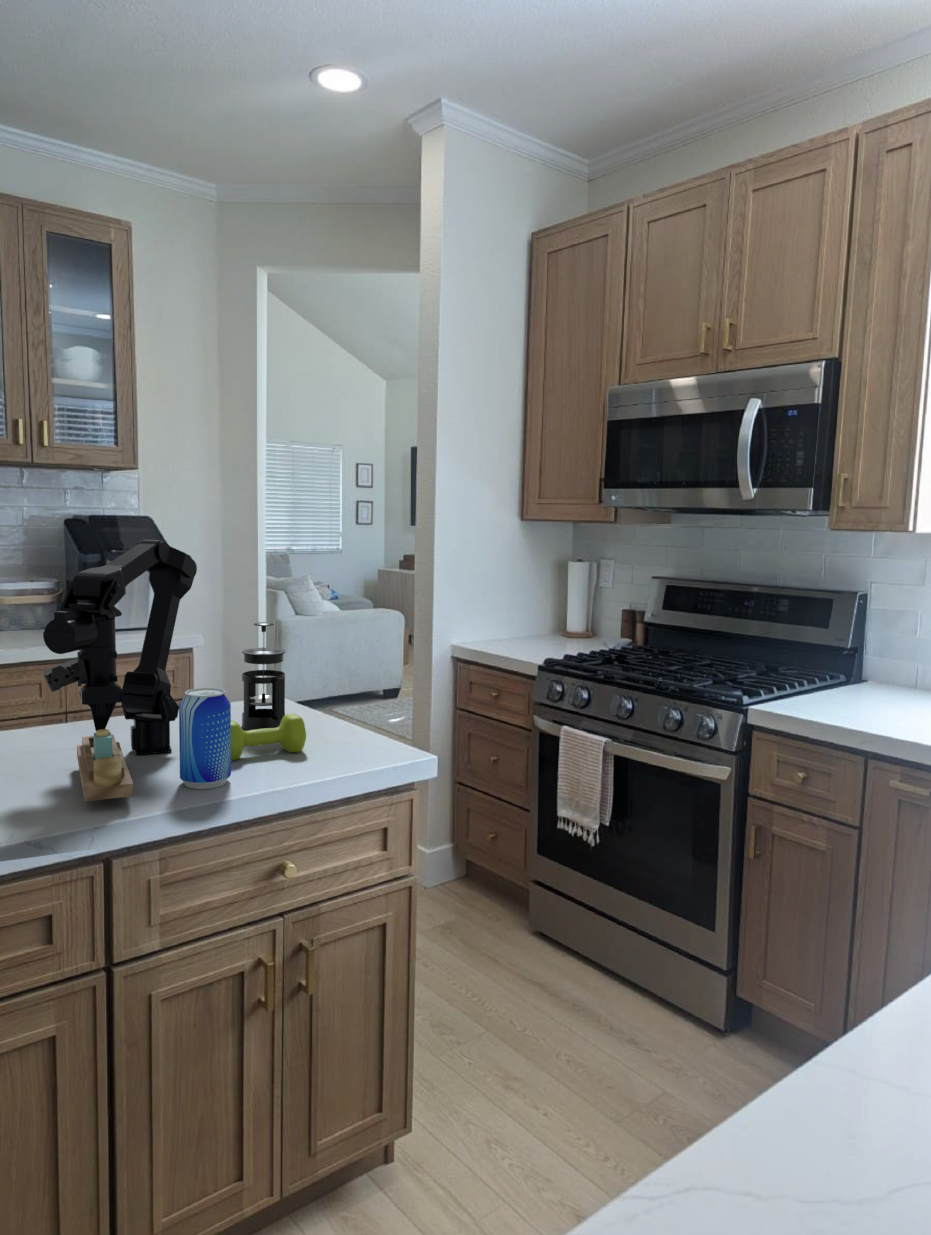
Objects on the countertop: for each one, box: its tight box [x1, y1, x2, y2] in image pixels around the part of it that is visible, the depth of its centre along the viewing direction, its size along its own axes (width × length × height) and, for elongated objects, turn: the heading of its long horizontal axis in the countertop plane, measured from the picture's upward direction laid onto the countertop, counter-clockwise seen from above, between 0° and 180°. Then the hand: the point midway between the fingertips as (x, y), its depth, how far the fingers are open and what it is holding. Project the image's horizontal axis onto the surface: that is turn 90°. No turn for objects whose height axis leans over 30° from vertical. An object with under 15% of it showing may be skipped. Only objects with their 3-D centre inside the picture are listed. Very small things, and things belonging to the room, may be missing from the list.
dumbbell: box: [231, 713, 307, 762], centre depth 168 cm, size 16×8×7 cm, turn 121°
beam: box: [76, 733, 134, 802], centre depth 146 cm, size 7×26×8 cm, turn 26°
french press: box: [240, 621, 286, 731], centre depth 186 cm, size 12×9×23 cm
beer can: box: [178, 687, 232, 790], centre depth 149 cm, size 8×8×16 cm
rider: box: [93, 728, 113, 760], centre depth 145 cm, size 3×4×6 cm, turn 26°
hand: (99, 733), depth 152 cm, fingers closed
